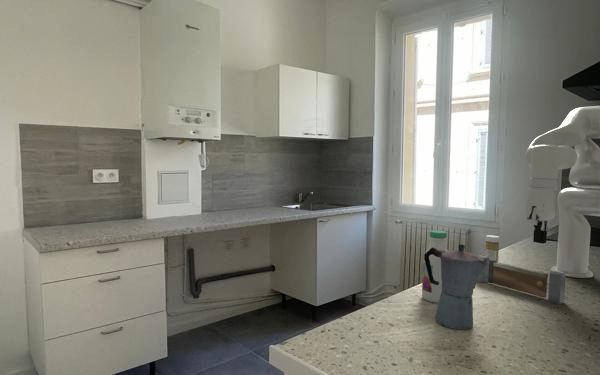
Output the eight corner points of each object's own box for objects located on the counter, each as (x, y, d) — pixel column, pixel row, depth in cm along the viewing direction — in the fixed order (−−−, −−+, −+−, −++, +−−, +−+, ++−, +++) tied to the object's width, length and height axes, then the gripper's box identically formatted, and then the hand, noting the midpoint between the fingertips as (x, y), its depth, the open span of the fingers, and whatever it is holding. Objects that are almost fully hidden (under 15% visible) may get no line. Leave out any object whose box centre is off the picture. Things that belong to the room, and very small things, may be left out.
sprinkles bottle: (500, 272, 144) (502, 236, 143) (493, 274, 142) (495, 237, 141) (488, 269, 148) (490, 234, 147) (481, 271, 146) (483, 235, 145)
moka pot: (483, 337, 90) (487, 251, 89) (415, 322, 99) (418, 243, 97) (488, 323, 98) (492, 244, 97) (425, 310, 107) (428, 237, 105)
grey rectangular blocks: (479, 279, 135) (480, 255, 135) (564, 302, 114) (565, 273, 113) (474, 280, 134) (475, 256, 133) (559, 304, 112) (561, 275, 112)
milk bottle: (449, 296, 118) (452, 230, 116) (450, 305, 110) (453, 234, 109) (422, 293, 120) (424, 228, 119) (421, 301, 113) (423, 232, 112)
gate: (490, 281, 132) (491, 259, 131) (546, 296, 117) (548, 272, 117) (485, 282, 130) (486, 260, 130) (542, 298, 116) (543, 273, 115)
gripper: (542, 183, 131) (538, 238, 132) (519, 183, 122) (515, 242, 123) (567, 185, 125) (563, 242, 126) (545, 185, 116) (541, 247, 117)
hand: (539, 242), depth 124 cm, fingers closed
